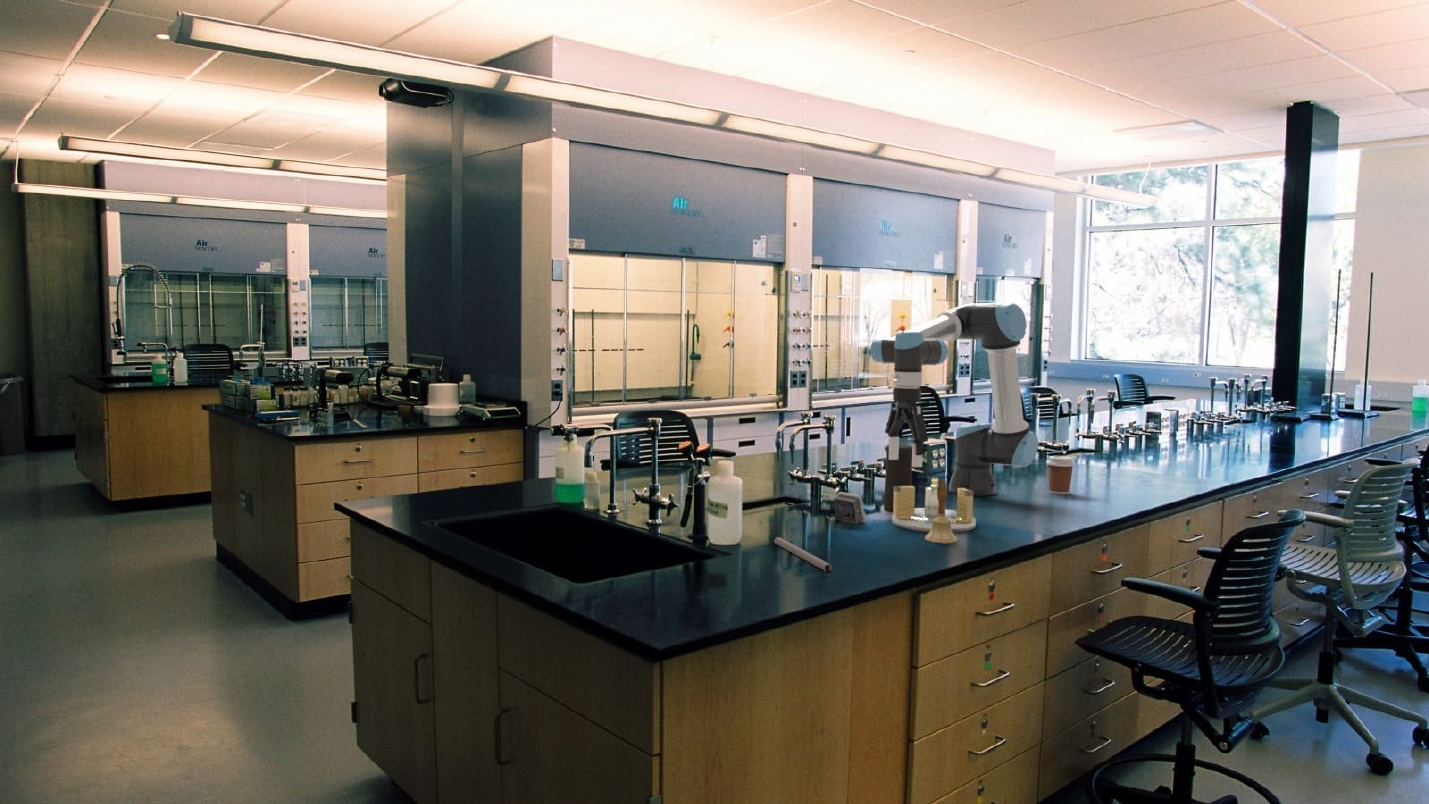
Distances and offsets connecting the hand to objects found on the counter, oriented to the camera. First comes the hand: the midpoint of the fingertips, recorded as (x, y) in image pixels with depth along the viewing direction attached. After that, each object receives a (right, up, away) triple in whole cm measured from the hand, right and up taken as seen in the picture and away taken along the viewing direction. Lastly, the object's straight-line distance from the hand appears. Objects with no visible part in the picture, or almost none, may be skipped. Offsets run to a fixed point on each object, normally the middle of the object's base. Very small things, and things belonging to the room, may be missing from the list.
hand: (904, 463), depth 251 cm
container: (+3, -16, +23) cm, 28 cm away
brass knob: (+11, -15, +13) cm, 23 cm away
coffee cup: (+63, -14, +53) cm, 84 cm away
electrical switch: (-15, -17, +6) cm, 23 cm away
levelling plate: (+9, -17, +4) cm, 20 cm away
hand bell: (+6, -19, -15) cm, 25 cm away
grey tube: (-32, -21, -33) cm, 50 cm away
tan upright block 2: (+16, -16, -2) cm, 23 cm away
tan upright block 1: (0, -16, +2) cm, 16 cm away
